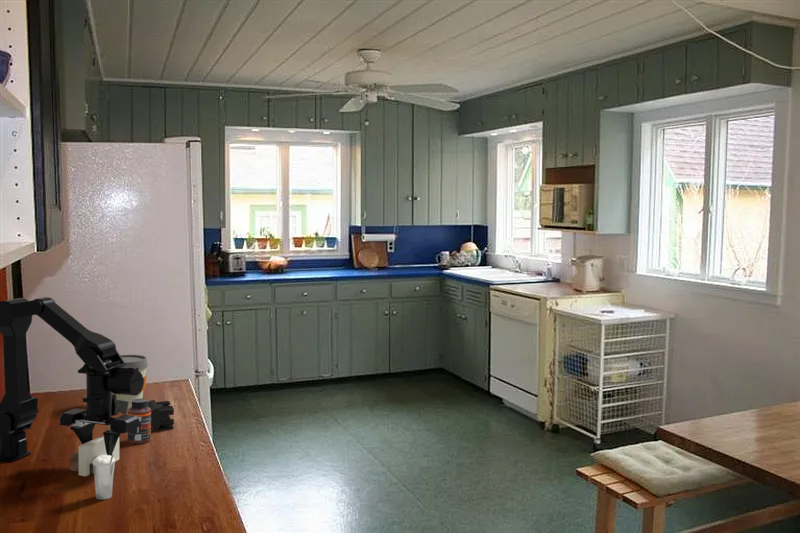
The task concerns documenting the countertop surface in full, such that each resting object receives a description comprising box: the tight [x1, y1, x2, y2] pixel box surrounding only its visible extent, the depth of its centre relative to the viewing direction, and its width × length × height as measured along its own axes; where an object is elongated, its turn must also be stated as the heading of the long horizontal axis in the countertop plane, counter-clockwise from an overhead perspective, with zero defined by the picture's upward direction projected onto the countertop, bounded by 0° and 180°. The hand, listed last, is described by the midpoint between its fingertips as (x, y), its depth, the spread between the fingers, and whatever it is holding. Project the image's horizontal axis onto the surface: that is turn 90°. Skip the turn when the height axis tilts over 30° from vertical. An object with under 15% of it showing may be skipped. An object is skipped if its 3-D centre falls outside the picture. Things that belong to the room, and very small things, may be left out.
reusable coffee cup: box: [105, 354, 148, 410], centre depth 224 cm, size 13×13×15 cm
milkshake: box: [92, 455, 116, 501], centre depth 154 cm, size 4×5×10 cm
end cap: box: [147, 399, 175, 432], centre depth 204 cm, size 10×7×7 cm
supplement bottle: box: [127, 397, 152, 445], centre depth 191 cm, size 6×6×11 cm
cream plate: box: [77, 435, 120, 477], centre depth 171 cm, size 12×2×7 cm, turn 164°
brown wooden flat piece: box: [69, 452, 98, 475], centre depth 168 cm, size 10×1×4 cm, turn 74°
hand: (99, 455), depth 171 cm, fingers open, 5 cm apart
